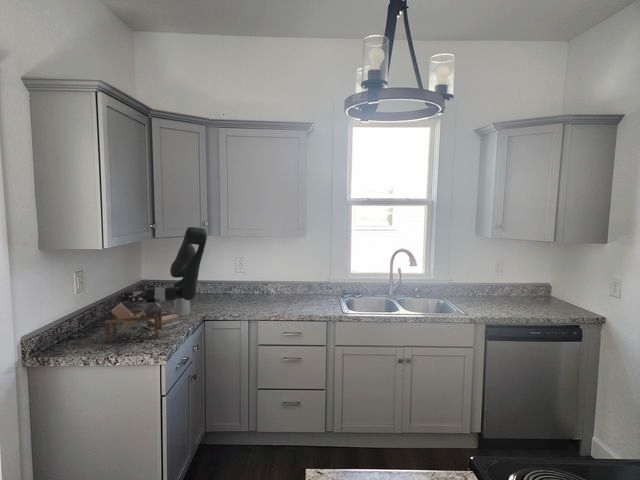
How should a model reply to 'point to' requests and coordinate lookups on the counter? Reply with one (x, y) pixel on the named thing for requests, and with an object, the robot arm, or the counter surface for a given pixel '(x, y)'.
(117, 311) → the block
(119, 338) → the counter surface
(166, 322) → the packaged product
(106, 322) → the wooden legged stool
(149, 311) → the trapdoor
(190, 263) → the robot arm
